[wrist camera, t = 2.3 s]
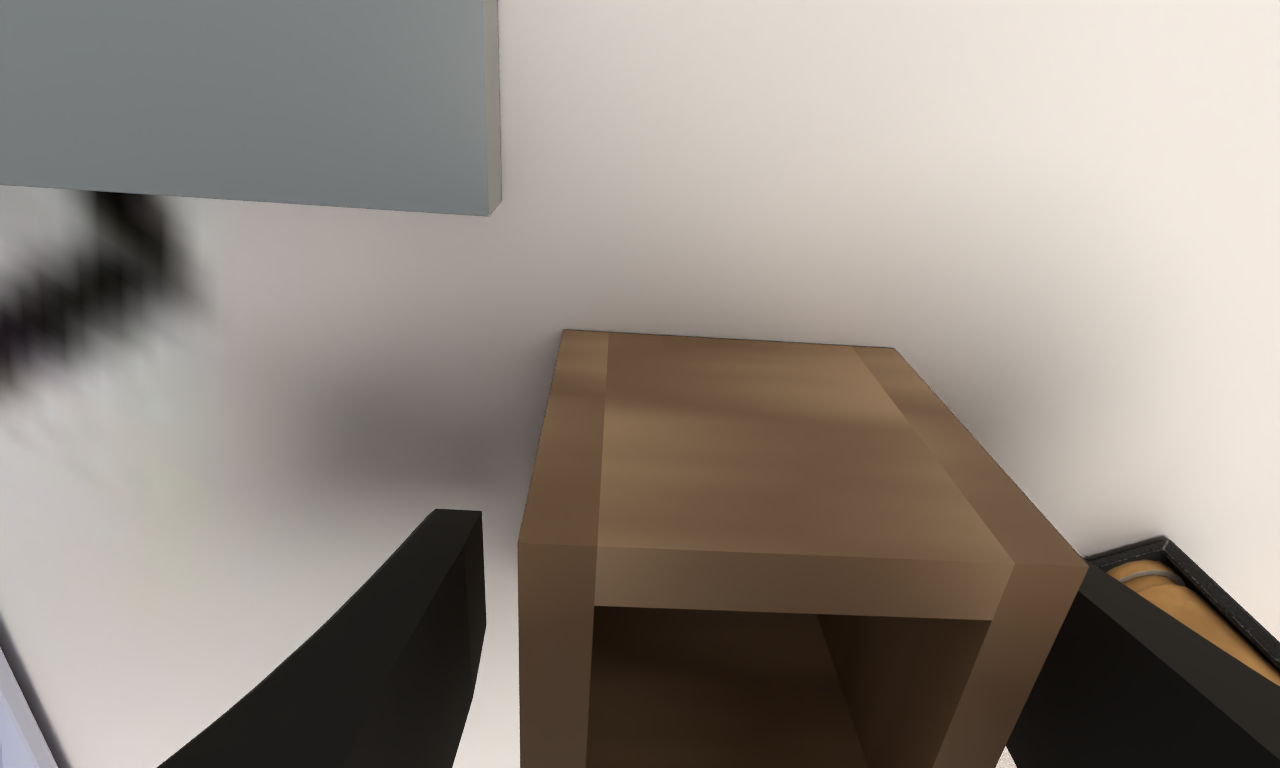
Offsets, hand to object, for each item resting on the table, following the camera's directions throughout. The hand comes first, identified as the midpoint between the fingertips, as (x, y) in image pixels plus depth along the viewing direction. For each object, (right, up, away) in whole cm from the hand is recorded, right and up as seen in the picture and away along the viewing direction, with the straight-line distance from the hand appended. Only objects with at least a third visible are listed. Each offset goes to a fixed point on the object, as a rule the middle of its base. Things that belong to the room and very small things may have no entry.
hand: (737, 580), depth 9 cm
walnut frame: (0, +1, +2) cm, 3 cm away
